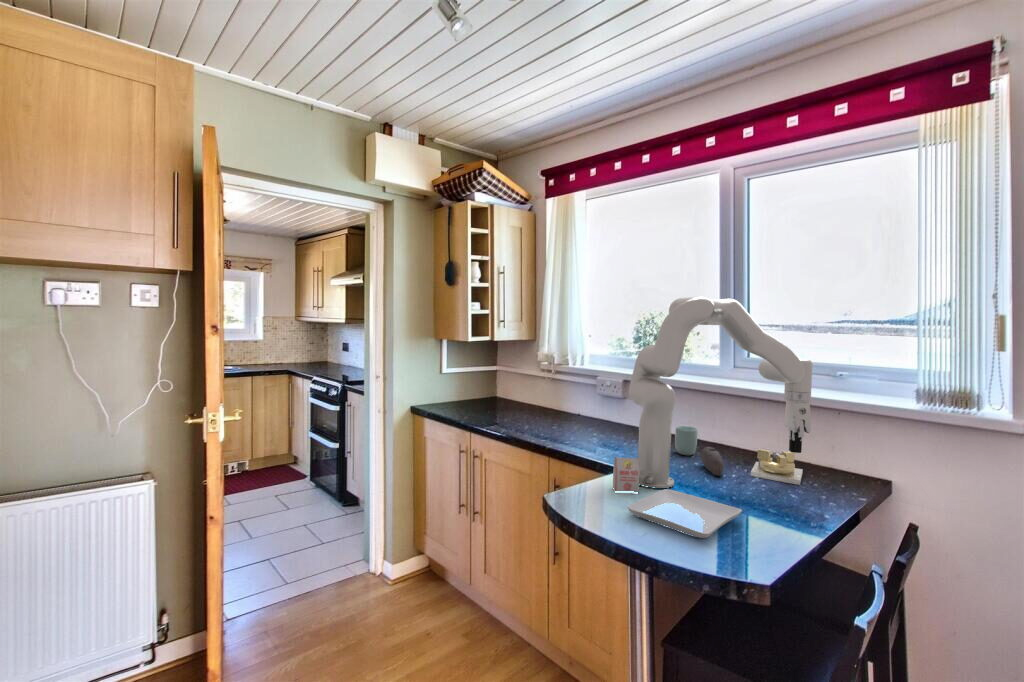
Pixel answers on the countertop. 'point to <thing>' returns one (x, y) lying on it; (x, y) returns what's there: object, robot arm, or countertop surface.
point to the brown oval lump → (712, 460)
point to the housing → (777, 474)
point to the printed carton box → (626, 474)
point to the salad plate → (707, 509)
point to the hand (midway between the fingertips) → (795, 451)
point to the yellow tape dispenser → (777, 461)
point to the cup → (686, 440)
